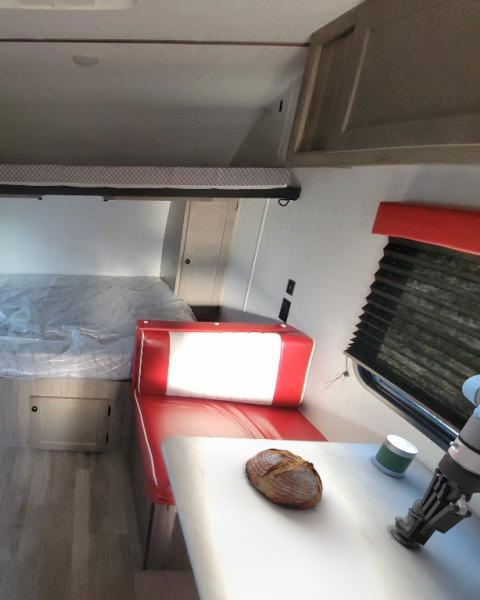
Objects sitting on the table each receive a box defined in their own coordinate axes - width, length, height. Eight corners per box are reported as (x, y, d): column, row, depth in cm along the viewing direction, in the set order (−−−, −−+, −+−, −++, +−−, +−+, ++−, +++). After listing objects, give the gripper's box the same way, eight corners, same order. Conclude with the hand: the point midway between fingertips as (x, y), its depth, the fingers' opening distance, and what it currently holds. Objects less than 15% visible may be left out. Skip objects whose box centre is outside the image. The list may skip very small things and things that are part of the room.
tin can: (407, 477, 100) (424, 452, 96) (389, 479, 98) (406, 454, 94) (383, 458, 106) (398, 433, 102) (366, 459, 104) (380, 435, 101)
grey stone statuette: (400, 545, 78) (423, 504, 76) (383, 524, 84) (403, 485, 81) (428, 554, 77) (451, 512, 75) (408, 532, 83) (429, 493, 80)
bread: (333, 511, 87) (351, 486, 83) (268, 517, 83) (283, 492, 79) (288, 457, 102) (302, 433, 97) (231, 460, 98) (243, 436, 93)
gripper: (437, 437, 75) (389, 509, 84) (457, 475, 65) (399, 552, 74) (484, 454, 72) (429, 527, 80) (513, 497, 61) (445, 576, 70)
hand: (415, 539), depth 77 cm, fingers closed
